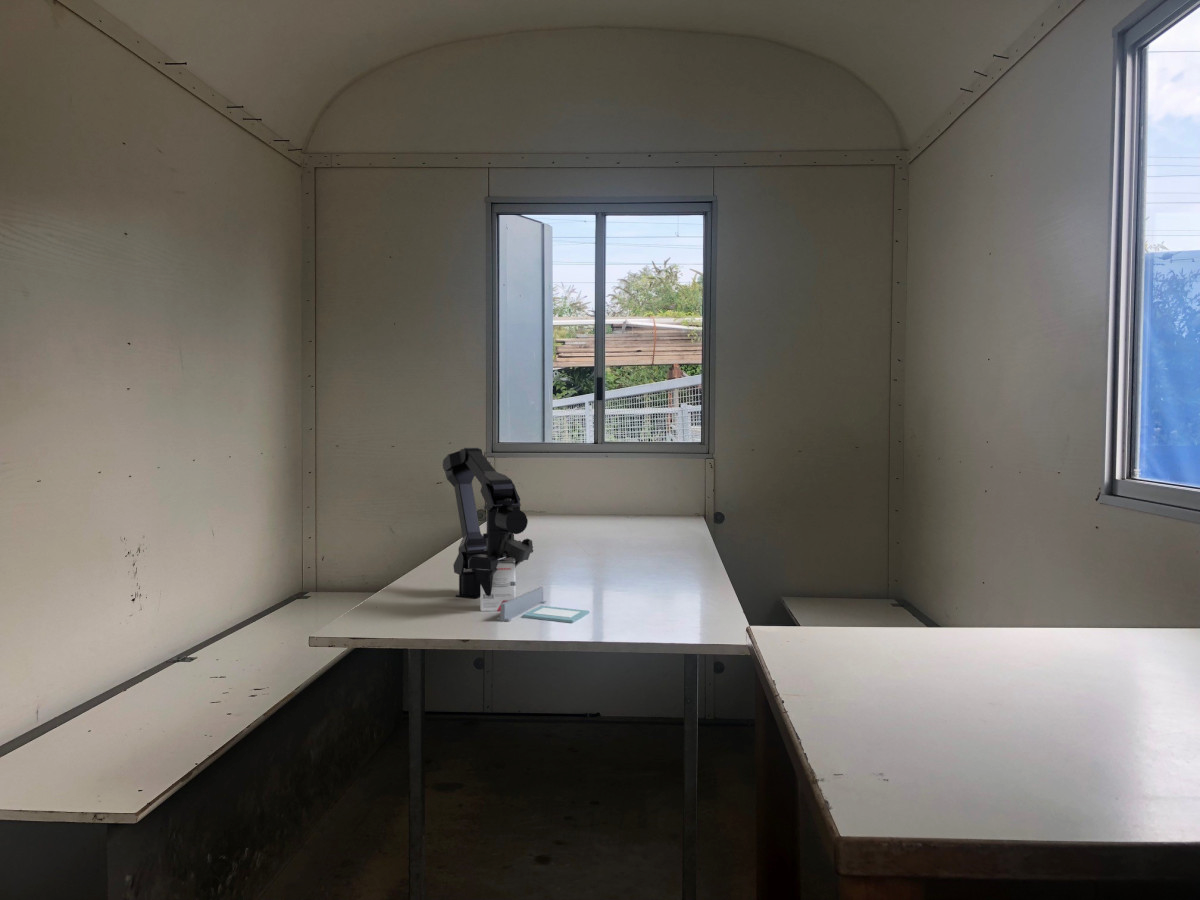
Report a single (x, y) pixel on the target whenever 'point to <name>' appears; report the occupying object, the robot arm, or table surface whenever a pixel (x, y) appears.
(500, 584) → the ink box
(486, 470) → the robot arm
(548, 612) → the teal picture frame
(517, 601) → the grey long bar
